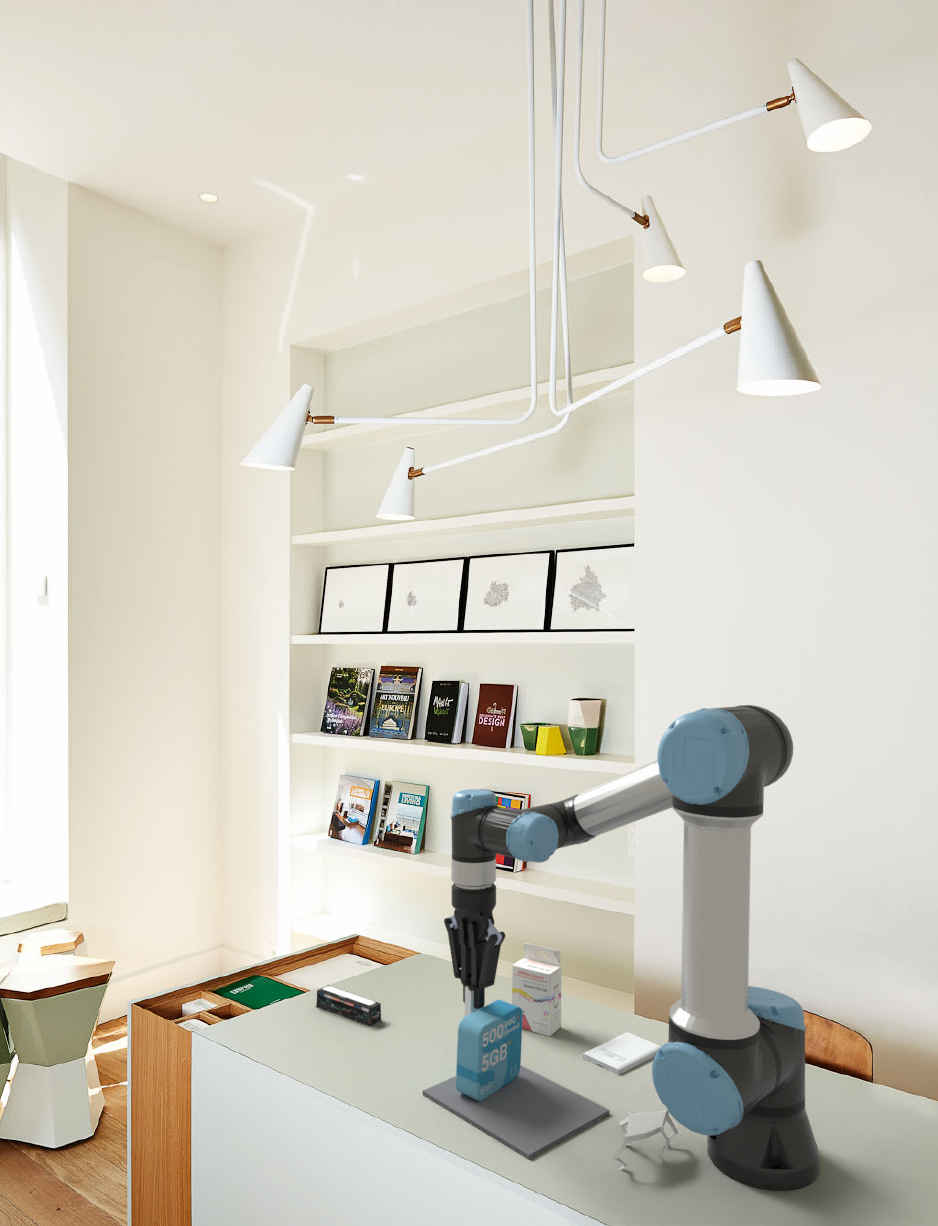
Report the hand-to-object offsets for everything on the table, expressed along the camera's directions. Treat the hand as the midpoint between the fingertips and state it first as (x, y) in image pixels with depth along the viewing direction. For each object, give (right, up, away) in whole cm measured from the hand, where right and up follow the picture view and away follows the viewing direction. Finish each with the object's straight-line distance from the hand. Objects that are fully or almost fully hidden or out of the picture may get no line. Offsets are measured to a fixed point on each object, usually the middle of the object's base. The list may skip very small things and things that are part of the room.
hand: (473, 1025), depth 147 cm
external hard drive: (+27, -10, +9) cm, 30 cm away
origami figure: (+24, -9, -22) cm, 33 cm away
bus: (-24, -11, +24) cm, 36 cm away
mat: (+6, -9, -7) cm, 13 cm away
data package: (+2, -9, -3) cm, 9 cm away
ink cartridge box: (+12, -10, +21) cm, 26 cm away
